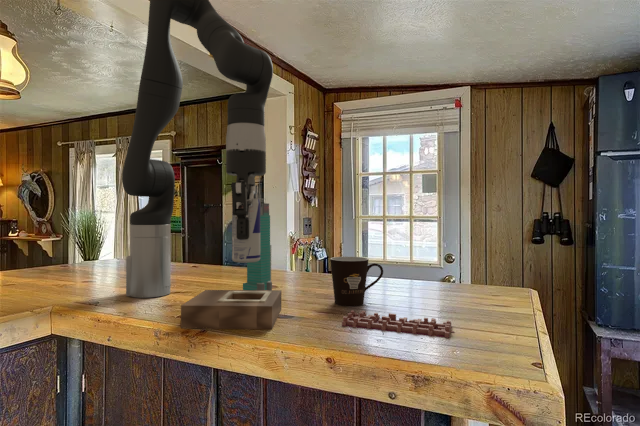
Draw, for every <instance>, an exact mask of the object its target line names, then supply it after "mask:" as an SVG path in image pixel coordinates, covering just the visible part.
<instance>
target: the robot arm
mask: <svg viewBox="0 0 640 426" xmlns="http://www.w3.org/2000/svg"><path fill="white" fill-rule="evenodd" d="M148 8H149V9H148V20H147V21H148V22H147V23H148V24H147V34H146V36H147V37H146V46H145V51H144V59H143V65H142V69H141V74H140V79H139V87H138V92H137V102H136V107H135V115H134V121H133V126H132V131H131V136H130V140H129V144H128V148H127V151H126V154H125V155H126V156H125V159H124V162H123V169H122V173H121V183H122V187H123V190H124V192H125V194H127V195H129V196H132V197H143V198H144V197H146V198H148V202H147V204H146V205H145V206H143V207H142V208H141V209H138V210H134V211H133V212H132V213H130V217H129V255H127V256H126V258H125V275H126V276H125V284H126V285H125V289H126V290H125V296H126V297H132V298H141V299H142V298H143V299H145V298H146V299H147V298H156V297H157V298H158V297H163V296H168V295H169V294H171V268H172V267H171V264H172V263H171V255H172V254H171V249H172V248H171V241H172V240H171V232H172V231H171V228H172V227H171V226H172V225H171V223H172V221H171V220H172V219H171V218H172V215H173V212H174V203H175V201H174V200H175V183H176V181H175V179H176V177H175V172H174V169H173V167H172V165H171V164H170V163H169V162H168V161H165V160H162V159H161V160H159V159H152V158H151V156H152V151H153V147H154V144H155V142H156V140H157V138H158V137H159V135H160V134H161V133H162V131H163V130H164V129H165V128H166V127H167V126H168V125H169V123H170V122H171V121H172V120H173V118H174V117H175V116H176V114H177V112H178V111H179V108H180V104H181V103H180V102H181V98H182V91H183V83H184V81H183V80H184V79H183V75H182V70H181V68H180V65H179V62H178V60H177V58H176V55H175V52H174V49H173V46H172V40H171V21H175V22H178V24H179V23H180V24H181V25H185V26H189V27H191V28H193V29H194V30H196V36H197V38H198V40H199V42H200V44H201V45H202V46H203V48H205V50H206V51H207V52H208V53H209V54H210V55H211V56H212V57H213V60H214V63H215V65H216V68H217V71H218V72H219V73H220V74H221V75H222V76H223V77H225V78H226V79H229V80H231V81H232V82H233V81H234V82H237V83H240V84H243V85H245V87H246V90H245V92H239V93H235V94H231V96H229V98H228V99H227V128H226V136H225V144H226V145H225V150H226V152H225V156H226V157H225V171H226V174H227V175H229V176H233V177H236V181H235V182H231V186H230V188H231V202H232V203H231V208H232V207H233V211H232V210H231V214H232V213H233V215H235V218H236V219H237V239H248V238H249V217H250V208H252V207H253V198H256V199H259V185H258V184H256V179H255V178H256V177H259V176H260V177H261V176H265V174H266V173H267V166H266V165H267V159H266V158H267V157H266V156H267V151H266V150H267V143H266V142H267V141H266V140H267V138H266V130H265V107H266V103H267V99H268V95H269V90H270V87H271V83H272V81H273V76H274V65H273V62H272V59H271V57H270V55H269V54H268V53H267V52H266V51H264V50H262V49H259V48H257V47H254V46H251V45H249V44H247V43H245V42H244V39H243V38H242V35H241V34H240V33H239V32H238V31H237V30H236V29H235V28H234V27H233V26H232V25H231V24H230V23H229V22H228V21H226V20H225V19H224V18H223V17H222V16H221V15H220V14H219V13H218V12H217V11H216V9H215V8H214V6H213V5H212V3H211V1H210V0H149V7H148ZM249 198H250V199H249ZM248 199H249V201H248V202H247V200H248ZM240 207H243V208H244V209H239V208H240Z"/></svg>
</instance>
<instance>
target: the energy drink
mask: <svg viewBox="0 0 640 426" xmlns="http://www.w3.org/2000/svg"><path fill="white" fill-rule="evenodd" d="M249 199H250V198H249ZM249 199H248V200H247V202H248V201H249ZM231 208H232V209H231V260H232V262H234V263H240V264H241V263H246V264H247V263H248V262H257V261H259V260H260V208H261V207H260V201H259V198H258V199H256V198H253V207H252V208H250V217H249V238H248V239H237V219H236V218H235V215H233V213H232V211H233V207H232V206H231ZM239 209H244V208H243V207H240V208H239Z"/></svg>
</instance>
